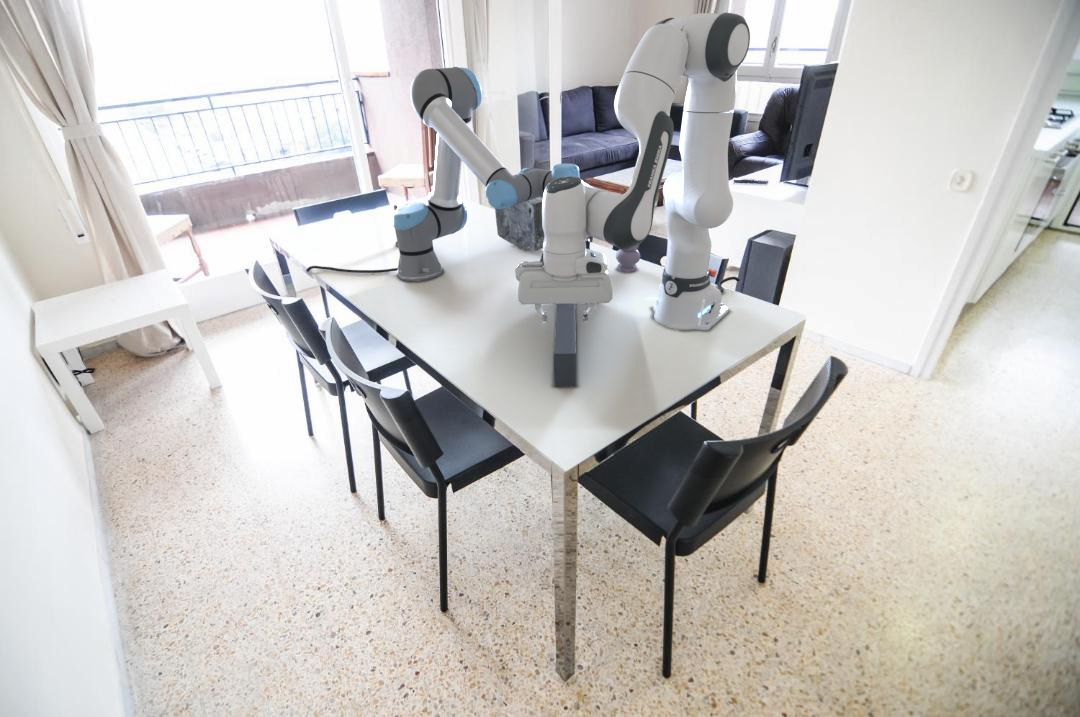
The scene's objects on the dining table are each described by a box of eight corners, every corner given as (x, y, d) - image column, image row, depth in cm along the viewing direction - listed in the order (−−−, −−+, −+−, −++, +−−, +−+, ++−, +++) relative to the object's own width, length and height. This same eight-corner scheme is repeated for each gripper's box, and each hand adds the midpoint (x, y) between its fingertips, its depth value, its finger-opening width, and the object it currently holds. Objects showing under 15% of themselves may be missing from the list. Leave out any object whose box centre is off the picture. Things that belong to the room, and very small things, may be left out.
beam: (559, 291, 159) (558, 265, 155) (574, 291, 159) (574, 265, 154) (554, 386, 114) (553, 353, 109) (575, 386, 113) (575, 353, 109)
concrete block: (553, 252, 189) (552, 199, 179) (534, 258, 185) (532, 204, 175) (514, 236, 208) (511, 187, 198) (496, 241, 204) (492, 191, 193)
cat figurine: (643, 268, 173) (646, 234, 167) (631, 275, 168) (633, 240, 162) (623, 263, 178) (625, 230, 172) (610, 269, 173) (611, 235, 167)
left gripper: (526, 226, 140) (529, 298, 152) (606, 224, 139) (604, 297, 150) (527, 218, 146) (531, 288, 158) (605, 217, 145) (602, 287, 157)
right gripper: (513, 267, 101) (517, 327, 108) (614, 265, 100) (612, 325, 107) (515, 256, 106) (519, 314, 113) (611, 254, 105) (609, 312, 112)
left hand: (566, 293), depth 154 cm, fingers open, 10 cm apart
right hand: (565, 320), depth 110 cm, fingers open, 8 cm apart
